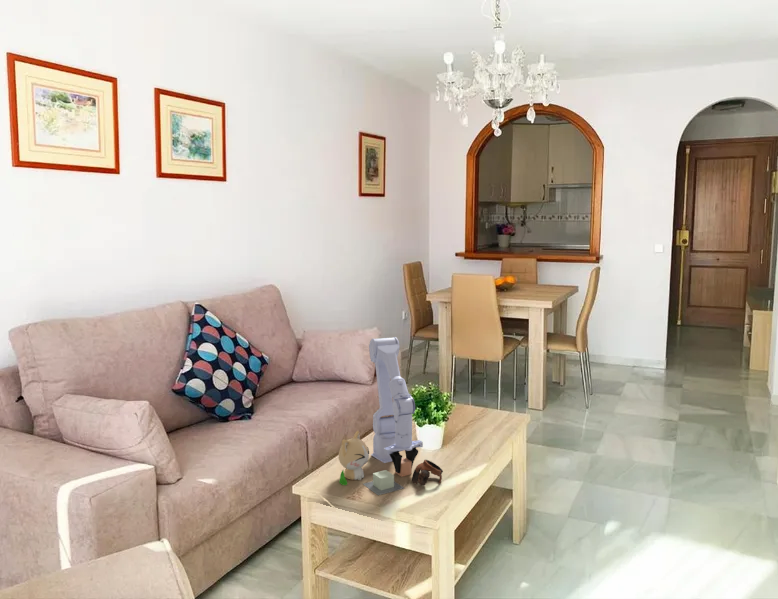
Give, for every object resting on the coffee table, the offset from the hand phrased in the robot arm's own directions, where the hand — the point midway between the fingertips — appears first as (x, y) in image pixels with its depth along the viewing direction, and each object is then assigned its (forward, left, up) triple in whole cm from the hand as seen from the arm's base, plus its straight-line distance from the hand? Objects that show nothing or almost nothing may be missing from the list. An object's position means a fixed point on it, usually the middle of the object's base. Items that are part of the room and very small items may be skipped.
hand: (403, 470), depth 221 cm
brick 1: (+5, -11, -1) cm, 12 cm away
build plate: (+5, -11, -1) cm, 12 cm away
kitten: (-6, -16, -2) cm, 17 cm away
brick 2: (0, 0, -1) cm, 1 cm away
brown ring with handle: (+10, +3, -2) cm, 10 cm away
